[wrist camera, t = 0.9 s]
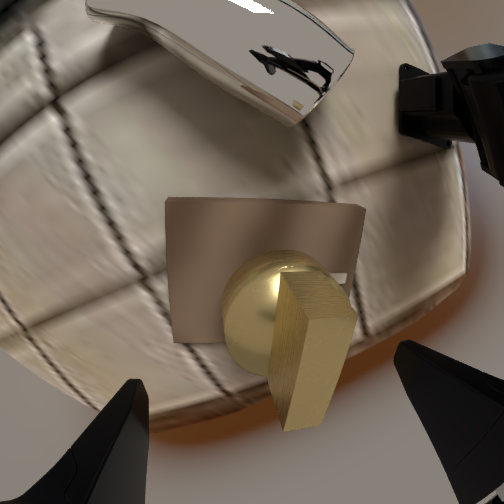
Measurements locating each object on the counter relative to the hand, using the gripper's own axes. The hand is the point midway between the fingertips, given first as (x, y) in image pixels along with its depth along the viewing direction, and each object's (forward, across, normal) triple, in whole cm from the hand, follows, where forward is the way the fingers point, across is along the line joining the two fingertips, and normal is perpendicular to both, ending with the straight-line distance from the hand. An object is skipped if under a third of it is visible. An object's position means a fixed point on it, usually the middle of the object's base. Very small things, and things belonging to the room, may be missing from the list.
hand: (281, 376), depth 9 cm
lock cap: (+8, -2, +3) cm, 9 cm away
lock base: (+13, -2, +2) cm, 13 cm away
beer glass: (+10, +8, -19) cm, 23 cm away
